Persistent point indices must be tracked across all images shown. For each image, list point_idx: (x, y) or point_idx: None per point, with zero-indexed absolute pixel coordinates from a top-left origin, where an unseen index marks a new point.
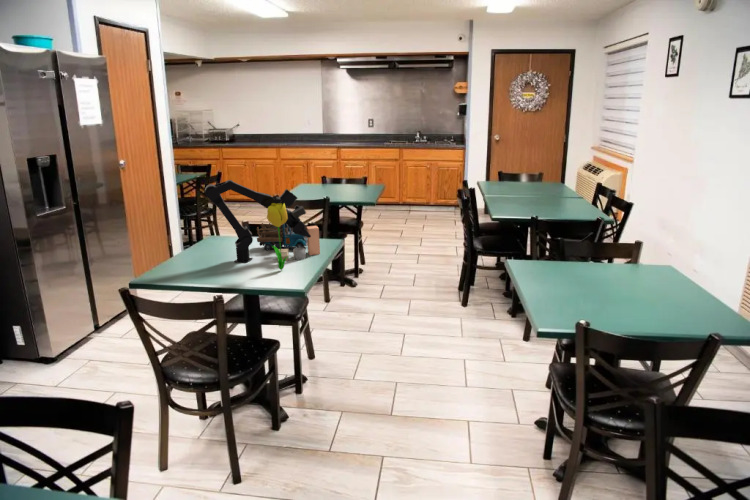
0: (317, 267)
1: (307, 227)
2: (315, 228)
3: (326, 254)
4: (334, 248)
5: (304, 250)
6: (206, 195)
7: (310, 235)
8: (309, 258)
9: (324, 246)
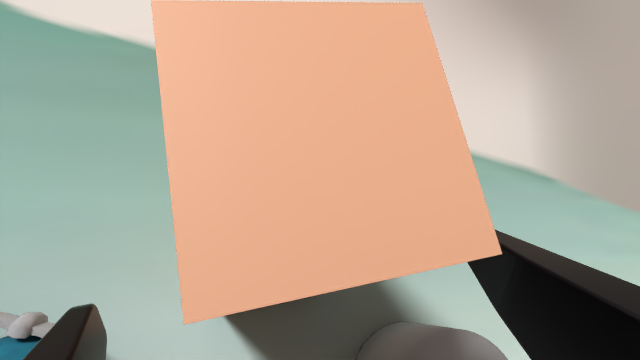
0: (631, 224)
1: (330, 283)
2: (441, 76)
3: None
4: (134, 42)
5: (477, 335)
6: None
7: (501, 232)
8: (425, 284)
9: (4, 118)
